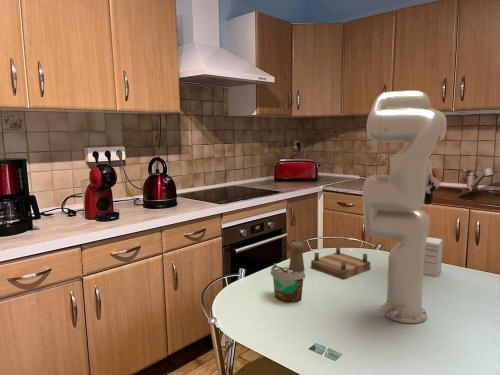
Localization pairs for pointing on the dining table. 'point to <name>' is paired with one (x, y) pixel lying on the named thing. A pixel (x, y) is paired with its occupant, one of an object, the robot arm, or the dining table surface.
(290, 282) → the food container
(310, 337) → the dining table surface
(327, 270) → the shelf board
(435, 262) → the supplement box
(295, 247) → the brown rounded piece
